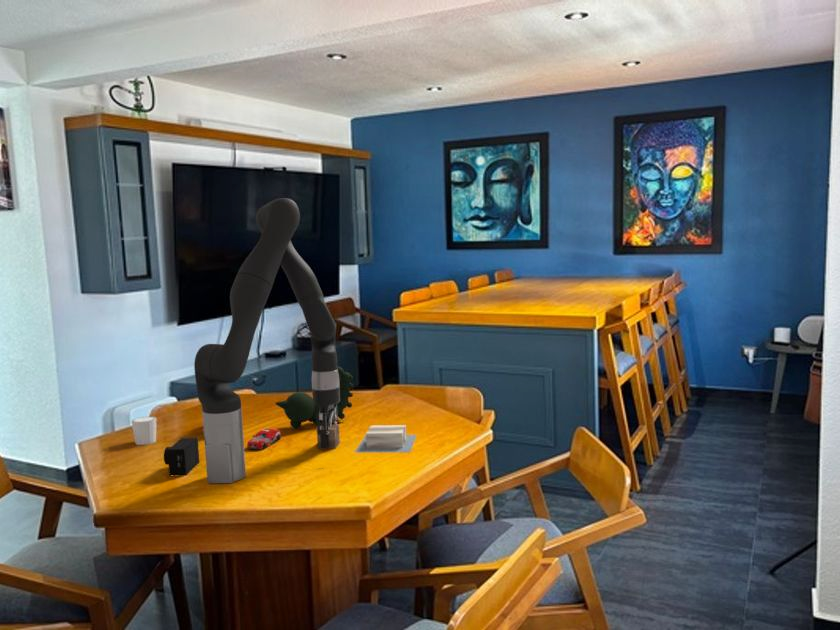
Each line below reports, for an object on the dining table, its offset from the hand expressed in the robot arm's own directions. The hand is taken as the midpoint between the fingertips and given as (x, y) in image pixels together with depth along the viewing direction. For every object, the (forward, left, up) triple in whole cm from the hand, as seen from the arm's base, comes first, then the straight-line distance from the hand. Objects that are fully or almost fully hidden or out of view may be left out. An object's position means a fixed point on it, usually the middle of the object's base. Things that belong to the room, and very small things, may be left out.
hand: (328, 443), depth 193 cm
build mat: (+2, -16, -1) cm, 16 cm away
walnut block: (0, 0, -1) cm, 1 cm away
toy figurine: (+24, +10, -1) cm, 26 cm away
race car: (+4, +20, -2) cm, 20 cm away
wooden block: (+2, -16, -1) cm, 16 cm away
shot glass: (+6, +57, -1) cm, 57 cm away
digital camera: (-18, +34, -1) cm, 39 cm away
